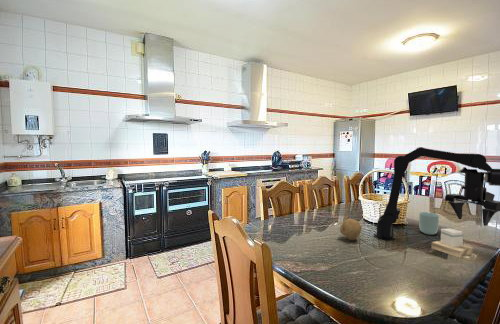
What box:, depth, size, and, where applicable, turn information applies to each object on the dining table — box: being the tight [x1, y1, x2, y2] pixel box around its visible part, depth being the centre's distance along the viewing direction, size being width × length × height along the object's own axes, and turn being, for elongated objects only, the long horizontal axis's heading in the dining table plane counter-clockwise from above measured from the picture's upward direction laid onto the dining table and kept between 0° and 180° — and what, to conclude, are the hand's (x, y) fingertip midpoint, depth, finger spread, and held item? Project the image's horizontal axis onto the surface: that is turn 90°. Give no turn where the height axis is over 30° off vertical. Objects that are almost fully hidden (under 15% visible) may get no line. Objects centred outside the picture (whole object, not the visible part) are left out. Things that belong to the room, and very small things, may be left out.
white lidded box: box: [440, 227, 464, 247], centre depth 101 cm, size 5×5×6 cm
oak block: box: [431, 239, 474, 258], centre depth 101 cm, size 10×10×3 cm
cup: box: [418, 211, 440, 236], centre depth 121 cm, size 8×8×10 cm
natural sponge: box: [339, 218, 362, 241], centre depth 112 cm, size 9×9×10 cm
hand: (472, 222), depth 99 cm, fingers open, 9 cm apart
